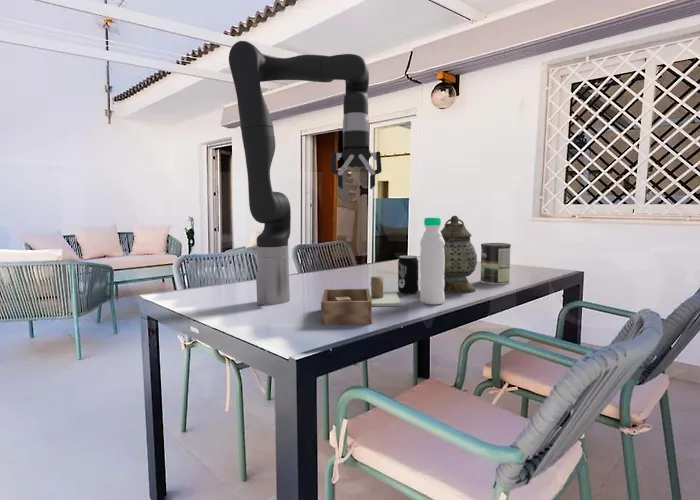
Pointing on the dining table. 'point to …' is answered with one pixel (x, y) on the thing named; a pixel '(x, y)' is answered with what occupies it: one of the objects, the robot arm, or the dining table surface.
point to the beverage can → (408, 274)
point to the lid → (382, 294)
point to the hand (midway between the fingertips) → (356, 188)
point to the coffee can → (495, 263)
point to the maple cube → (342, 299)
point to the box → (346, 307)
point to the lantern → (458, 257)
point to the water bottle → (432, 263)
